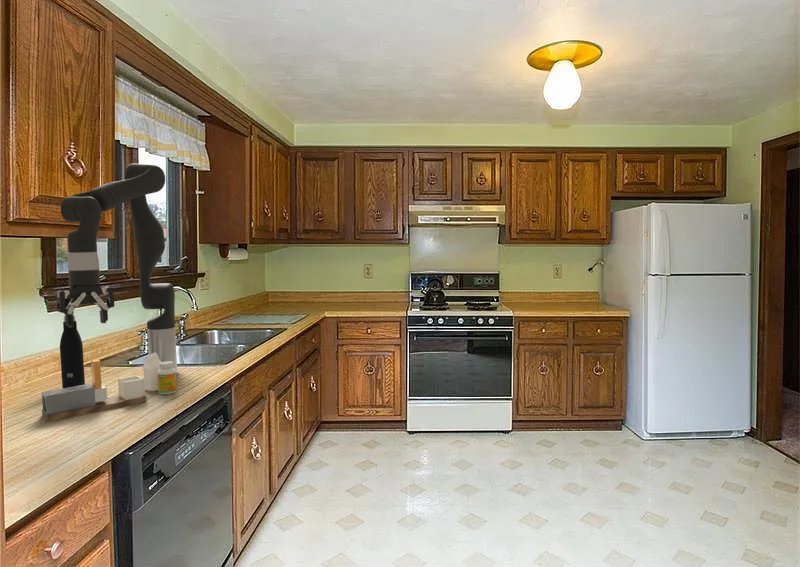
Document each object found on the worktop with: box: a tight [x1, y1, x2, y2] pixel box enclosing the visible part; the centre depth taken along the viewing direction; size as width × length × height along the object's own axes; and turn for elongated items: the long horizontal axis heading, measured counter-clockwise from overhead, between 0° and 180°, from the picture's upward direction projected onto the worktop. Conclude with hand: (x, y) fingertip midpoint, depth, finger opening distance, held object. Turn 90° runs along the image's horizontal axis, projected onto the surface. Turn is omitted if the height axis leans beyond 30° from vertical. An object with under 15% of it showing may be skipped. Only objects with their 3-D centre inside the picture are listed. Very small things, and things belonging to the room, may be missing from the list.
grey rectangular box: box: [41, 383, 96, 416], centre depth 148 cm, size 12×5×5 cm, turn 134°
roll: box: [143, 352, 161, 392], centre depth 172 cm, size 6×12×6 cm
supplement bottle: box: [157, 361, 178, 395], centre depth 168 cm, size 5×5×10 cm
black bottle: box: [59, 297, 86, 389], centre depth 175 cm, size 6×6×30 cm
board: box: [41, 394, 147, 423], centre depth 153 cm, size 25×8×2 cm, turn 134°
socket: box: [117, 374, 146, 400], centre depth 159 cm, size 6×6×5 cm
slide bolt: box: [45, 358, 108, 408], centre depth 149 cm, size 14×4×12 cm, turn 134°
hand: (87, 325), depth 150 cm, fingers open, 8 cm apart
